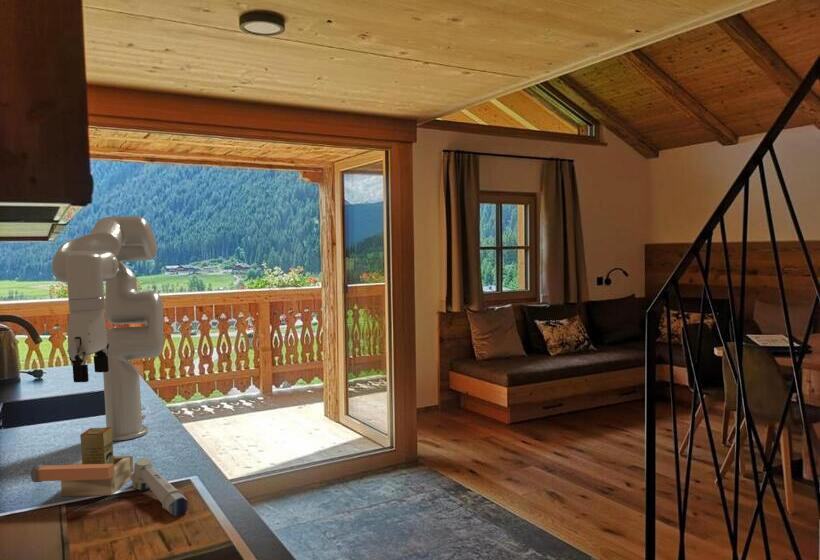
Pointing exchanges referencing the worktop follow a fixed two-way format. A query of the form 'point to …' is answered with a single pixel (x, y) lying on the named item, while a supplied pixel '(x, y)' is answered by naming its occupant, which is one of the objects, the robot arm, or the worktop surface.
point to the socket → (101, 480)
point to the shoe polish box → (97, 446)
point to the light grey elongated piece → (158, 487)
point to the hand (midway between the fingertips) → (91, 376)
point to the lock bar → (72, 472)
